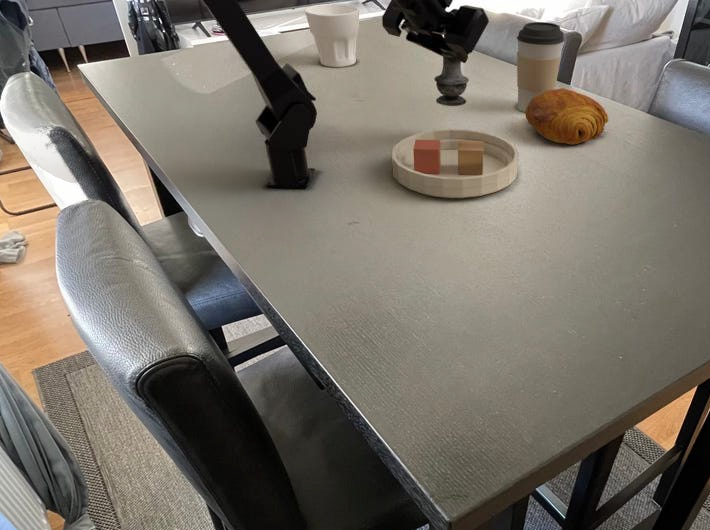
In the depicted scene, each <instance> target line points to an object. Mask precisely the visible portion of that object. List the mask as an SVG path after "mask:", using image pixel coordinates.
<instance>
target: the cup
mask: <svg viewBox="0 0 710 530" xmlns="http://www.w3.org/2000/svg"><path fill="white" fill-rule="evenodd" d="M304 12H305V16H306V20H307V24H308V28H309V32H310V33H311V34H312V36H313V38H314V42H315V45H316V50H317V53H318V55H319V61H320V65H322V66H325V67H330V68H344V67H350V66H353V65H354V64H356V62H357V59H356V54H357V38H358V37H357V36H358V33H359V30H360V9H359V8H358V6H354V5H352V4H345V3H344V4H343V3H323V4H315V5H311V6H308V7H307V8H305V9H304Z"/></svg>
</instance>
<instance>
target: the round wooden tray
mask: <svg viewBox="0 0 710 530" xmlns="http://www.w3.org/2000/svg"><path fill="white" fill-rule="evenodd" d="M415 140H440V158H441V165H440V172H439V174H423V173H420V172H417V171H414V153H413V149H414V144H415ZM459 141H483V142H484V146H483V175H458V144H459ZM519 157H520V154H519V150H518V149H517V146H516V145H515V144H513V143H512V142H511V141H509V140H508V139H505V138H503V137H501V136H499V135H496V134H494V133H489V132H485V131H482V130H481V131H480V130H475V129H474V130H473V129H464V128H463V129H459V128H445V129H435V130H427V131H424V132H418V133H415V134H412V135H410V136H406V137H404V138H403V139H401V140H400V141H398V142H397V143H396V144H395V145H394V147H393V148H392V150H391V161H392V175H393V177H394V178H395V179H396V181H397V182H398V183H399V184H400V185H402V186H403V187H405V188H407V189H409V190H411V191H413V192H417V193H420V194H423V195H427V196H431V197H436V198H443V199H444V198H445V199H468V198H476V197H482V196H485V195H489V194H491V193H495V192H498V191H500V190H502V189H504V188H506V187H508V186H510V185H511V184H512V183H513V181H515V180H516V178H517V175H518V169H519Z"/></svg>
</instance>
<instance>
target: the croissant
mask: <svg viewBox="0 0 710 530" xmlns="http://www.w3.org/2000/svg"><path fill="white" fill-rule="evenodd" d="M524 114H525V119H526V121H527V123H528V124H529V125H530V126H531V127H532V128H533V129H534V130H535V131H536V132H538V134H539V135H541V136H542V137H544V138H545V139H547V140H549V141H551V142H555V143H559V144H567V145H578V144H580V143H584V142H589V141H591V140H592V139H597V138H598V137H599V136H601V134H602V133H603V131H605V126H606V124H607V123H608V122H609V115H608V112H607V111H606V110H605V108H604V107H603V106H602V104H601V103H599V102H598V101H596V100H595V99H593V98H592V97H590V96H587V95H586V94H583V93H579V92H577V91H574V90H570V89H567V88H563V87H562V88H555V89H554V90H547V91H545V92H544V93H542V94H540V95H537V96H535V97H534V98H533V99H531V101H530V103H529V104H528V106H527V108H526V111H525V112H524Z"/></svg>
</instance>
